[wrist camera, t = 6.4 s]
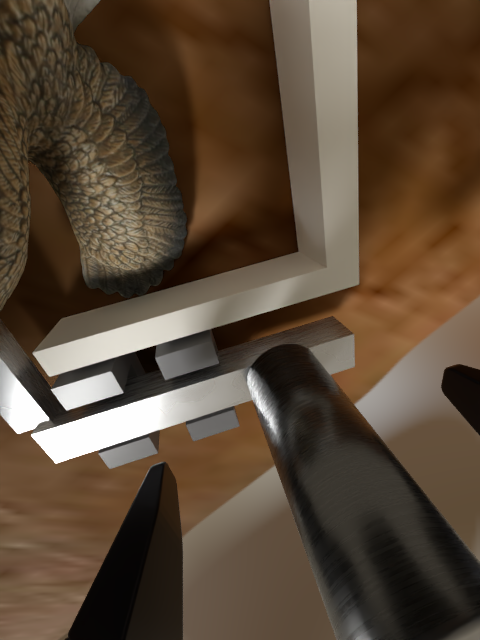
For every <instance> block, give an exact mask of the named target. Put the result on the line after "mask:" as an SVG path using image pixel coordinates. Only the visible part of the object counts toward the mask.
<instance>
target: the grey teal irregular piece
mask: <svg viewBox="0 0 480 640" xmlns="http://www.w3.org/2000/svg"><path fill="white" fill-rule="evenodd" d="M217 356H218V360H219V364H215V365H212V366H209V367H206V368H203V369H199V370H196V371H193V372H190V373H186V374H183V375H180V376H177V377H173V378H170V379H167V380H165V378H164V376H163V374H162V372H161V370H160V369H158V370H154V371H151V372H148V373H145V374H141V375H138V376H135V377H131V378H128V379H127V381H126V385H125V389H124V393H122V394H118V395H115V396H112V397H109V398H106V399H102V400H99V401H96V402H93V403H89V404H86V405H83V406H80V407H76V408H73V409H70V410H67V411H66V409H65V408H64V407H63V405H62V404H61V403H60V401H59V400H58V399H57V397H56V396H55V395H54V393H53V392H52V391H51V387H50V385H49V384H48V383H47V381H46V380H45V379H44V377H43V376H42V375H41V373H40V372H39V371H38V369H37V368H36V366H35V365H34V364H33V362H32V361H31V360H30V358H29V357H28V356H27V354H26V353H25V352H24V350H23V349H22V347H21V346H20V345H19V343H18V342H17V341H16V339H15V338H14V337H13V335H12V334H11V333H10V331H9V330H8V329H7V327H6V326H5V324H4V323H3V322H2V320H1V319H0V415H1V416H2V417H3V418H4V419H5V420H6V422H7V423H8V424H9V425H10V426H11V427H12V428H13V429H14V430H15V431H16V432H17V434H18V433H21V432H25V431H28V430H31V429H34V428H35V429H34V431H33V433H32V434H31V436H32V437H33V438H34V439H35V440H36V441H37V442H38V444H39V445H40V446H41V447H42V448H43V449H44V450H45V451H46V453H47V454H48V455H49V456H50V457H51V458H52V459H53V460H54V462H55V463H59V462H62V461H65V460H68V459H71V458H74V457H77V456H80V455H83V454H86V453H89V452H93V451H96V450H99V449H102V448H105V447H108V446H111V445H114V444H117V443H120V442H123V441H127V440H130V439H133V438H136V437H139V436H142V435H145V434H148V433H151V432H154V431H157V430H161V429H164V428H167V427H170V426H173V425H176V424H179V423H182V422H185V421H188V420H191V419H195V418H198V417H201V416H204V415H207V414H210V413H213V412H216V411H219V410H222V409H225V408H229V407H232V406H235V405H238V404H241V403H244V402H247V401H250V400H253V403H254V406H255V409H256V411H257V414H258V417H259V420H260V423H261V426H262V429H263V431H264V434H265V437H266V440H267V443H268V446H269V448H270V451H271V454H272V457H273V460H274V463H275V466H276V468H277V471H278V474H279V477H280V480H281V483H282V485H283V488H284V491H285V494H286V497H287V500H288V503H289V505H290V508H291V511H292V514H293V517H294V520H295V523H296V525H297V528H298V531H299V534H300V536H301V540H302V543H303V545H304V548H305V551H306V554H307V556H308V559H309V562H310V565H311V568H312V571H313V574H314V577H315V579H316V582H317V585H318V588H319V591H320V594H321V596H322V599H323V602H324V605H325V608H326V611H327V614H328V617H329V619H330V622H331V625H332V628H333V631H334V634H335V636H336V639H337V640H480V561H479V560H478V559H477V558H476V556H475V555H474V554H473V553H472V551H471V550H470V549H469V548H468V546H467V545H466V544H465V543H464V541H463V540H462V539H461V538H460V536H459V535H458V534H457V533H456V531H455V530H454V529H453V528H452V526H451V525H450V524H449V523H448V521H447V520H446V519H445V518H444V516H443V515H442V514H441V513H440V512H439V510H438V509H437V508H436V507H435V505H434V504H433V503H432V502H431V500H430V499H429V498H428V497H427V495H426V494H425V493H424V491H423V490H422V489H421V488H420V487H419V485H418V484H417V483H416V482H415V480H414V479H413V478H412V476H411V475H410V474H409V473H408V471H407V470H406V469H405V468H404V467H403V465H402V464H401V463H400V462H399V460H398V459H397V458H396V457H395V455H394V454H393V453H392V452H391V450H389V448H388V447H387V445H386V444H385V443H384V442H383V440H382V439H381V438H380V437H379V435H378V434H377V433H376V432H375V430H374V429H373V428H372V427H371V425H370V424H369V423H368V422H367V420H366V419H365V418H364V417H363V415H362V414H361V413H360V412H359V410H358V409H357V408H356V407H355V405H354V404H353V403H352V402H351V400H350V399H349V398H348V397H347V395H346V394H345V393H344V392H343V390H342V389H341V388H340V387H339V385H338V384H337V383H336V382H335V380H334V379H333V378H332V377H331V374H334V373H337V372H340V371H343V370H346V369H349V368H352V367H355V356H354V334H353V333H352V332H351V331H350V330H349V329H348V328H346V327H345V326H344V325H343V324H342V323H341V322H339V321H338V320H337V319H336V318H335V317H333V316H331V317H328V318H325V319H321V320H318V321H315V322H311V323H308V324H305V325H302V326H298V327H295V328H292V329H289V330H285V331H282V332H279V333H275V334H272V335H269V336H266V337H262V338H259V339H256V340H253V341H249V342H246V343H243V344H239V345H236V346H233V347H230V348H226V349H223V350H220V351H217Z"/></svg>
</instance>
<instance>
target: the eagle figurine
mask: <svg viewBox="0 0 480 640" xmlns="http://www.w3.org/2000/svg"><path fill="white" fill-rule="evenodd" d="M99 1H100V0H0V310H1V309H2V308H3V306H4V305H5V303H6V300H7V299H8V298H9V297H10V295H11V294H12V292H13V290H14V289H15V287H16V286H17V284H18V282H19V280H20V277H21V275H22V273H23V271H24V268H25V264H26V260H27V249H28V236H29V228H30V214H31V209H30V204H31V196H30V192H29V169H28V160H29V161H31V162H32V163H33V164H35V165H36V166H37V167H38V169H39V170H40V171H41V172H42V174H43V175H44V176H45V177H46V178H47V180H48V181H49V183H50V185H51V186H52V188H53V189H54V191H55V193H56V194H57V195H58V197H59V198H60V200H61V202H62V204H63V206H64V208H65V211H66V213H67V215H68V218H69V220H70V223H71V226H72V229H73V231H74V234H75V236H76V239H77V241H78V243H79V246H80V256H81V259H80V260H81V264H82V271H83V277H84V279H85V284H86V285H87V286H88V287H89V288H92V289H95V288H100V289H101V290H103V291H104V292H105V293H106V294H113V293H115V292H119V294H120V295H121V296H123V297H125V298H130V297H131V296H132V295H133V294H137V295H140V296H141V295H144V294H146V293H147V291H148V289H149V287H150V286H151V285H153V286H158V285H159V284H160V282H161V281H162V278H163V270H168V271H169V270H171V269H172V268H173V266H174V265H173V263H174V259H178V258H179V257H180V256H181V254H182V249H183V247H184V238H185V237H186V235H187V229H186V226H185V224H186V222H187V216H186V214H185V212H184V211H183V201H182V194H181V192H180V190H179V189H178V187H176V183H177V178H176V175H175V173H174V165H173V162H172V160H171V158H170V156H169V155H168V151H169V143H168V141H167V138H166V130H165V128H164V126H163V125H162V124H161V121H160V117H159V115H158V113H157V111H156V110H155V109H154V108H153V107H152V106H151V104H150V102H149V99H148V95H147V93H146V92H145V90H144V89H142V88H140V87H138V86H137V84H136V82H135V81H134V80H133V78H132V77H131V76H122V75H120V73H119V72H118V70H117V69H116V68H115V67H114V66H113V65H111V64H110V63H107V62H104V63H101V62H100V61H99V59H98V57H97V55H96V53H95V51H94V50H93V49H92V48H91V47H89V46H85V45H81V44H78V43H77V42H76V40H75V37H74V32H75V30H76V28H77V26H78V25H79V24H80V23H81V22H82V21H83V20H84V19H85V17H86V16H87V15H88V14H89V13H90V12H91V11H92V9H93V8H94V7H96V5H97V4H98V3H99Z"/></svg>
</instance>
